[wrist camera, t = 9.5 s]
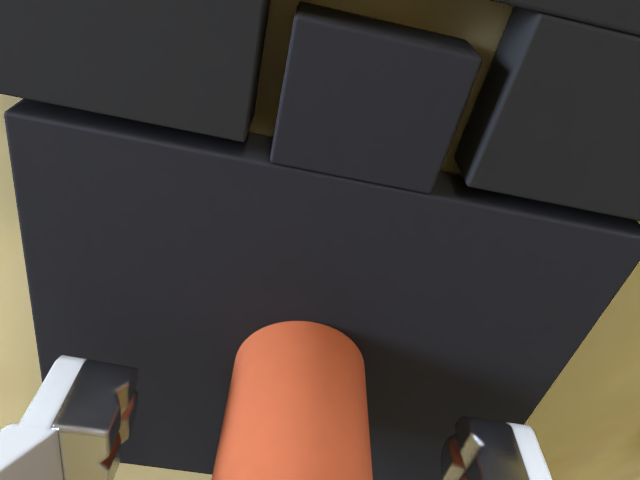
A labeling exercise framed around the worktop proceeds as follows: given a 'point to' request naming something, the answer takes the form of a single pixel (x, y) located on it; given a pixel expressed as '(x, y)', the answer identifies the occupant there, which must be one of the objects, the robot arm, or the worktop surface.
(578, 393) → the worktop surface
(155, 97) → the notch pad
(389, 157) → the tab pad
